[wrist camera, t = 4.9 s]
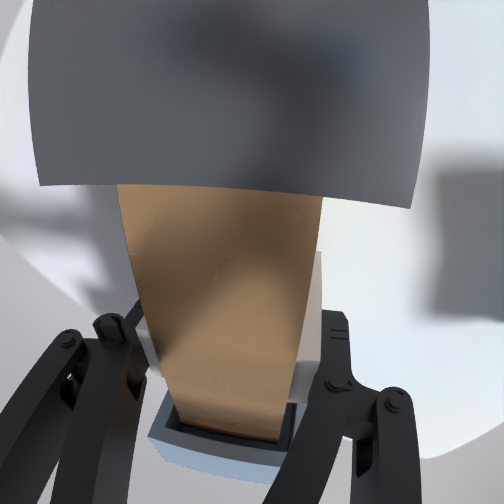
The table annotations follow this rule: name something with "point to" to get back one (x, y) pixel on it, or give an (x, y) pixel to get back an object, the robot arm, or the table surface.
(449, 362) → the table surface
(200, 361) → the tube
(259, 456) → the socket block
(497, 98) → the table surface
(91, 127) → the outer sleeve
